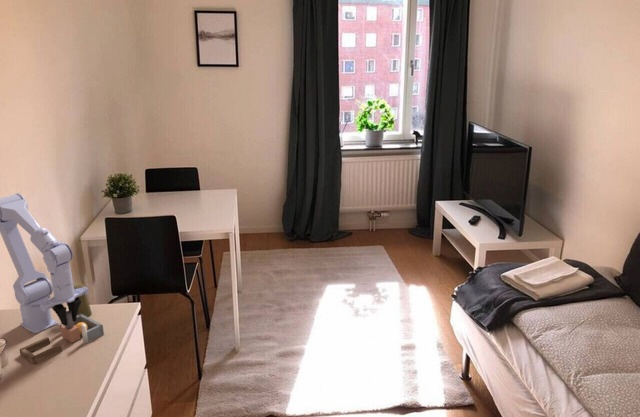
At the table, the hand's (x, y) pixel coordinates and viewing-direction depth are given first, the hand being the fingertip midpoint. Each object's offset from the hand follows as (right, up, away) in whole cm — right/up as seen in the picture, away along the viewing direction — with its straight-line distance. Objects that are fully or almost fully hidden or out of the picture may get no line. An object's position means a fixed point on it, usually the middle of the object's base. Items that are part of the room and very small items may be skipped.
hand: (68, 322), depth 171 cm
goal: (+3, -4, +5) cm, 7 cm away
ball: (+2, -3, +4) cm, 5 cm away
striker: (0, -6, +2) cm, 6 cm away
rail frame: (-6, -8, -5) cm, 11 cm away
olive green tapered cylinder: (-3, -1, +16) cm, 16 cm away
